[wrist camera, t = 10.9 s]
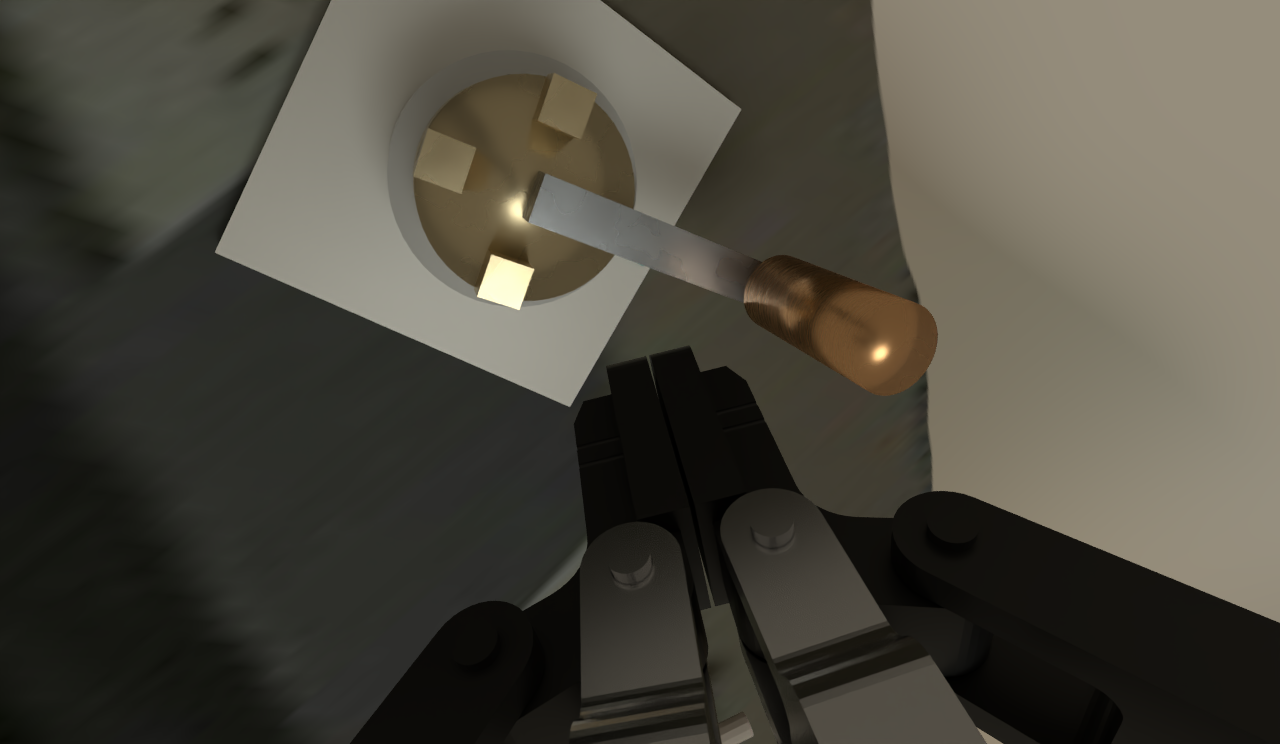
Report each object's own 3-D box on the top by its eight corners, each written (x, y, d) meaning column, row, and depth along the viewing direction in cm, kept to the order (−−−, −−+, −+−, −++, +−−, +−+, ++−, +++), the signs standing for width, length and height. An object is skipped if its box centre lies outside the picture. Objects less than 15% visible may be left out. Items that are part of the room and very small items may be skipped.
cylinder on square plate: (221, 246, 33) (179, 281, 27) (401, -142, 30) (404, -211, 24) (564, 397, 42) (595, 451, 36) (729, 109, 39) (797, 109, 33)
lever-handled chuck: (385, 249, 29) (381, 336, 18) (451, 36, 27) (490, -11, 16) (732, 362, 36) (875, 469, 26) (803, 203, 34) (990, 247, 24)
